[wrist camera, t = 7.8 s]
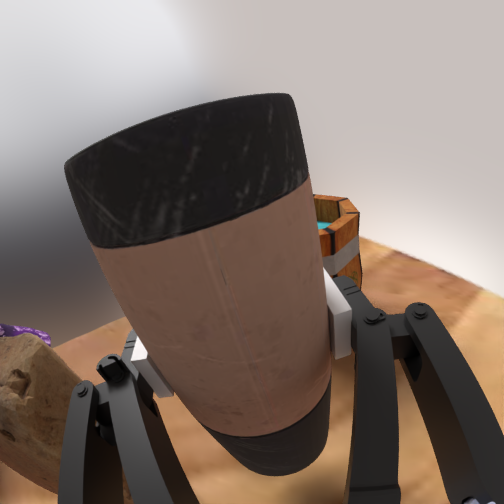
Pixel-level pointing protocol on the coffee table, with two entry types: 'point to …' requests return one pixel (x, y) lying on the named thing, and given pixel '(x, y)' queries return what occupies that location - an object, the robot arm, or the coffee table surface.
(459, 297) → the coffee table surface
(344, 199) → the mug
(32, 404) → the block
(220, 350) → the travel mug
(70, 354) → the coffee table surface
